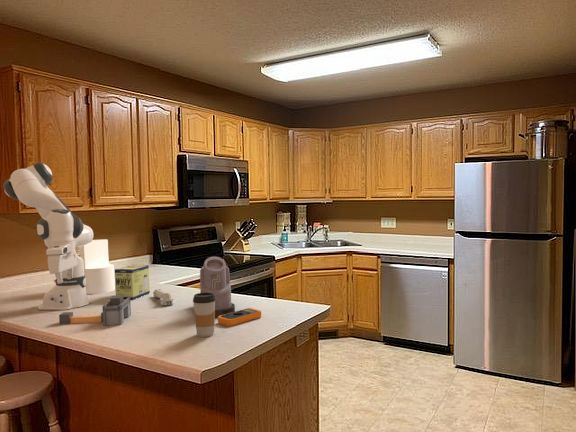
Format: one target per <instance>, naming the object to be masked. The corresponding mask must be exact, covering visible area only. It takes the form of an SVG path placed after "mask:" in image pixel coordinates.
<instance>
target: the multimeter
mask: <svg viewBox="0 0 576 432" xmlns="http://www.w3.org/2000/svg"><path fill="white" fill-rule="evenodd" d="M261 317H262V310H261V309H257V308H253V307H247V308H243V309H239V310H237V311H236V310H235V312H232V313H228V314H224V315H220V316H218V318H217V322H218V324H219V325H222V326H225V327H233V326H237V325H240V324H243V323H247V322H249V321H253V320H257V319H260V318H261Z"/></svg>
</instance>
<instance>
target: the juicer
mask: <svg viewBox="0 0 576 432" xmlns="http://www.w3.org/2000/svg"><path fill="white" fill-rule="evenodd" d="M231 285H232V284H231V275H230V268H229V267H228V266H227V265H226V261H225V260H224V259H223V257H220V256H210V257H207V258H206V259H205V260H204V262H203V266H202V267H201V268H200V269H199V287H200V293H206V292H208V293H214V296H215V319H218V316H220V315H224V314H228V313H232V312H236V305H235V304H234V303H232V287H231Z"/></svg>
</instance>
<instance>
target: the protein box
mask: <svg viewBox="0 0 576 432" xmlns="http://www.w3.org/2000/svg"><path fill="white" fill-rule="evenodd" d="M114 277H115V290H114V291H115V296H120V295H123V299H124V300H126V299H127V298H128V297H130V301H134V300H137V299H139V298H142V297H145V296H147V295H149V293H151V292H150V269H149V264H130V265H126V266H123V267H119V268H114ZM144 295H145V296H144ZM141 296H142V297H141ZM136 298H137V299H136Z"/></svg>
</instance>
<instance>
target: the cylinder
mask: <svg viewBox="0 0 576 432" xmlns="http://www.w3.org/2000/svg"><path fill="white" fill-rule="evenodd" d="M78 248H79V257H81V258H82V259H83V261H84V275H85V278H86V286H85V288H86V293H87V295H98V294H105V293H109V292H114V291H116V290H115V265H114V264H113V263H110V260H109V257H110V256H109V239H106V238H105V239H93V240H92V241H91V242H90V243H88V244H86V245H84V246H81V247H78Z"/></svg>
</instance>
